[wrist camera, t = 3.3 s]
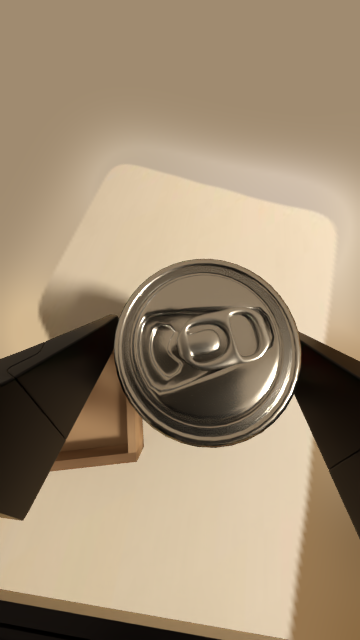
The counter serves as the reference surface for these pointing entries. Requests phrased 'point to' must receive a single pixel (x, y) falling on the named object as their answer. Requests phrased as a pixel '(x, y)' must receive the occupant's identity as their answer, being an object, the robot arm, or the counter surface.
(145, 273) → the counter surface
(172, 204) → the counter surface
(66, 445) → the walnut tray
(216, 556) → the counter surface
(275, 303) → the soda can
